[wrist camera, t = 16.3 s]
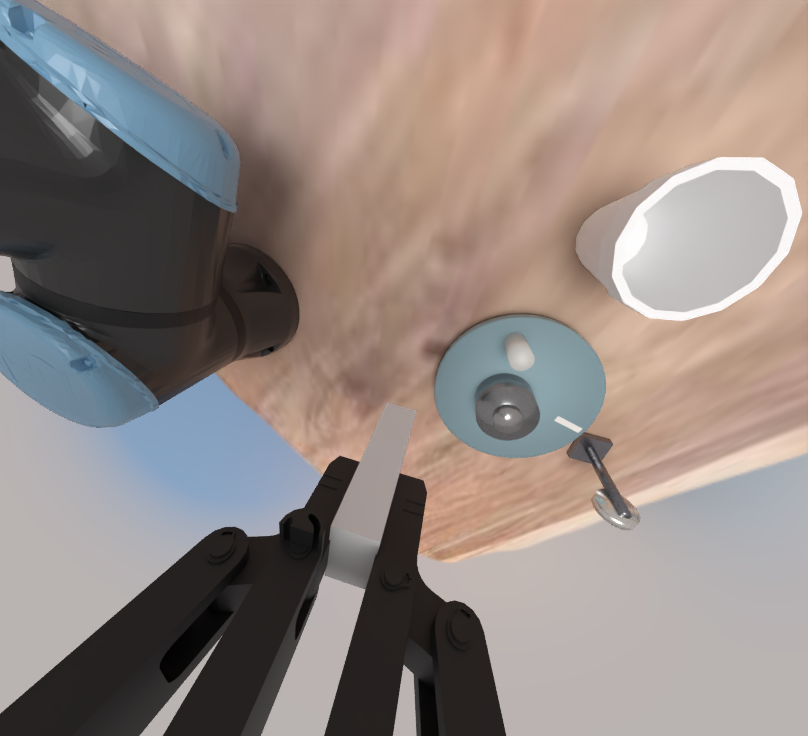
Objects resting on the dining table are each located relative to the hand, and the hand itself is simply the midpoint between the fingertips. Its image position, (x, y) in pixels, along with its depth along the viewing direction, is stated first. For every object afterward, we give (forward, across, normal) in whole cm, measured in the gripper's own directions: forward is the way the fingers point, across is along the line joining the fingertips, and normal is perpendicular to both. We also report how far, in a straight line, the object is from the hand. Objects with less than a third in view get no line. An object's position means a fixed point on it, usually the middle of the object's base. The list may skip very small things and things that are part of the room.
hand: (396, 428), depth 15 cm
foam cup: (+25, +15, +11) cm, 31 cm away
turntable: (+24, +12, -8) cm, 28 cm away
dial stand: (+24, +25, -14) cm, 38 cm away
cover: (+22, +11, -9) cm, 26 cm away
